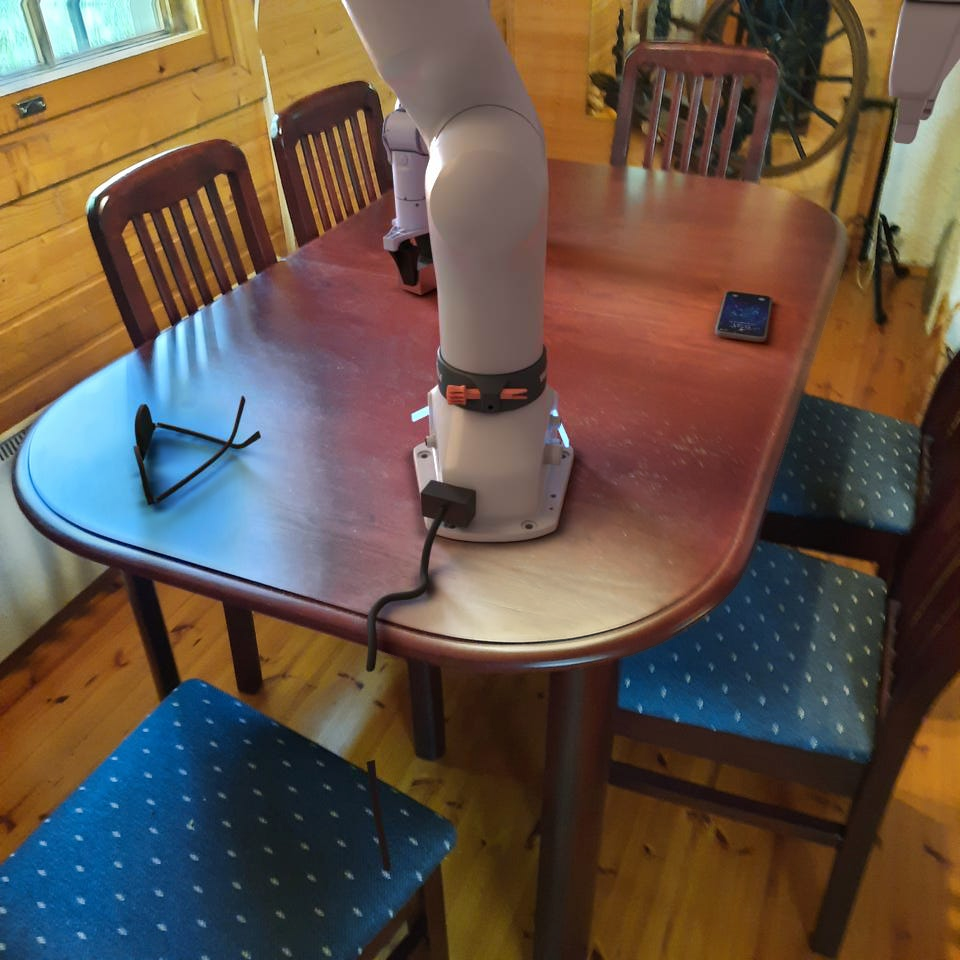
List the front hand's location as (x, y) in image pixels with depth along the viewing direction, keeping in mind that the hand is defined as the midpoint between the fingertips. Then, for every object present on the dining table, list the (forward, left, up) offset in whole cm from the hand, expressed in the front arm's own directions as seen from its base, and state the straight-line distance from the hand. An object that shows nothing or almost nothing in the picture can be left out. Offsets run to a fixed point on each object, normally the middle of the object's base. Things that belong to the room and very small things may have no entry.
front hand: (912, 129), depth 84 cm
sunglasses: (-7, +76, -35) cm, 84 cm away
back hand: (+41, +54, -33) cm, 76 cm away
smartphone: (+29, +5, -35) cm, 45 cm away
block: (+41, +54, -34) cm, 76 cm away
